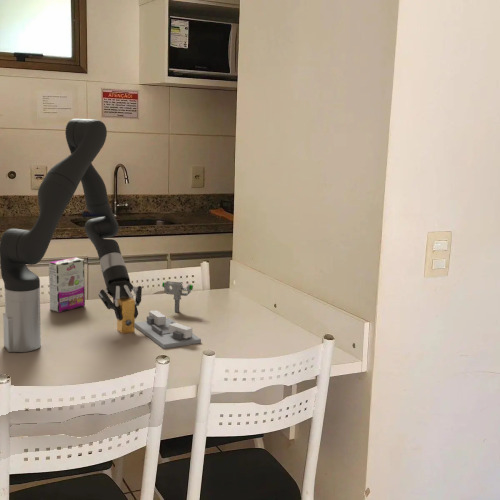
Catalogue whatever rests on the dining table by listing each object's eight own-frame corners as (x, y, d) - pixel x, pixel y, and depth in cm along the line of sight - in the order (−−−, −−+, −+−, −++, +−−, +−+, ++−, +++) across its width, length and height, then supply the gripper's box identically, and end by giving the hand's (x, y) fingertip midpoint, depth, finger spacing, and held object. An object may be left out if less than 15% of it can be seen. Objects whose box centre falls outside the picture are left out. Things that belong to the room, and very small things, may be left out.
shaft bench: (163, 348, 193) (164, 333, 192) (134, 326, 211) (134, 312, 210) (200, 342, 199) (201, 328, 198) (169, 321, 217) (169, 308, 216)
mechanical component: (190, 314, 226) (191, 285, 224) (161, 311, 228) (161, 282, 226) (192, 312, 229) (193, 283, 227) (163, 309, 231) (164, 280, 229)
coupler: (122, 333, 204) (122, 301, 202) (116, 329, 207) (117, 298, 205) (134, 332, 206) (135, 300, 204) (129, 327, 209) (129, 296, 207)
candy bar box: (75, 303, 233) (75, 256, 229) (85, 306, 230) (85, 259, 226) (48, 309, 224) (48, 261, 220) (58, 312, 221) (57, 264, 218)
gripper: (95, 265, 205) (109, 315, 198) (139, 262, 213) (153, 309, 205) (89, 278, 211) (102, 327, 203) (132, 274, 218) (146, 321, 210)
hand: (128, 318), depth 204 cm, fingers closed on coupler, 4 cm apart
